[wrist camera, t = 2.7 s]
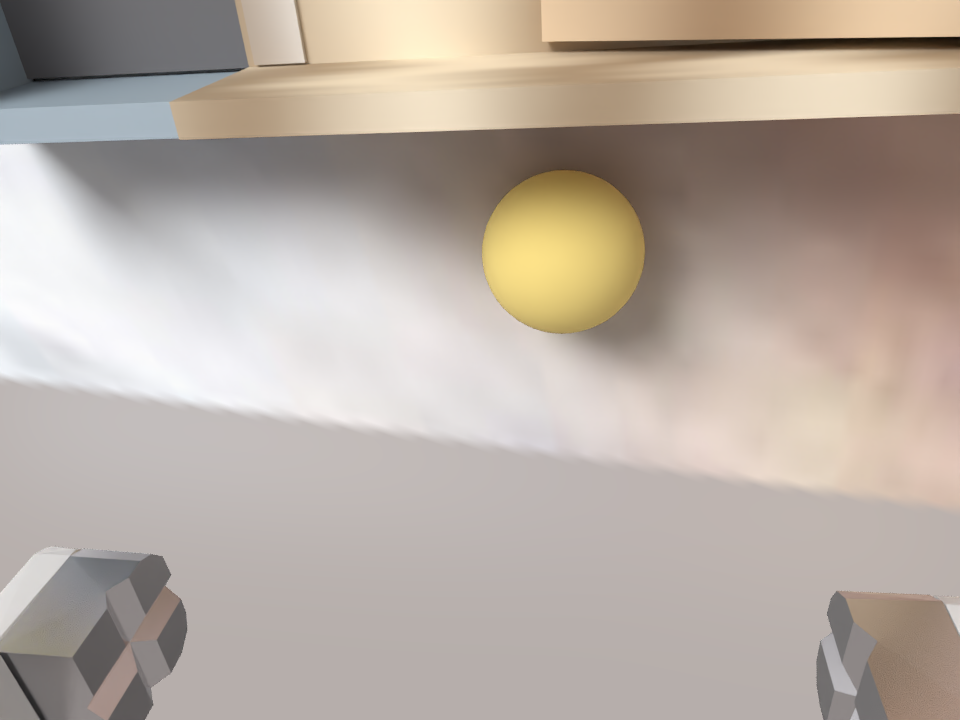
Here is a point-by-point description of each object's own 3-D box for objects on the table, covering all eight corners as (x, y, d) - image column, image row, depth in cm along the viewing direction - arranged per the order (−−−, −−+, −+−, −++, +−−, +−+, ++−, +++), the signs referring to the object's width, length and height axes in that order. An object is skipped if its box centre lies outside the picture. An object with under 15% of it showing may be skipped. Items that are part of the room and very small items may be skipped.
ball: (645, 147, 19) (651, 200, 16) (639, 291, 21) (644, 365, 18) (489, 152, 20) (462, 203, 16) (498, 290, 22) (476, 362, 18)
